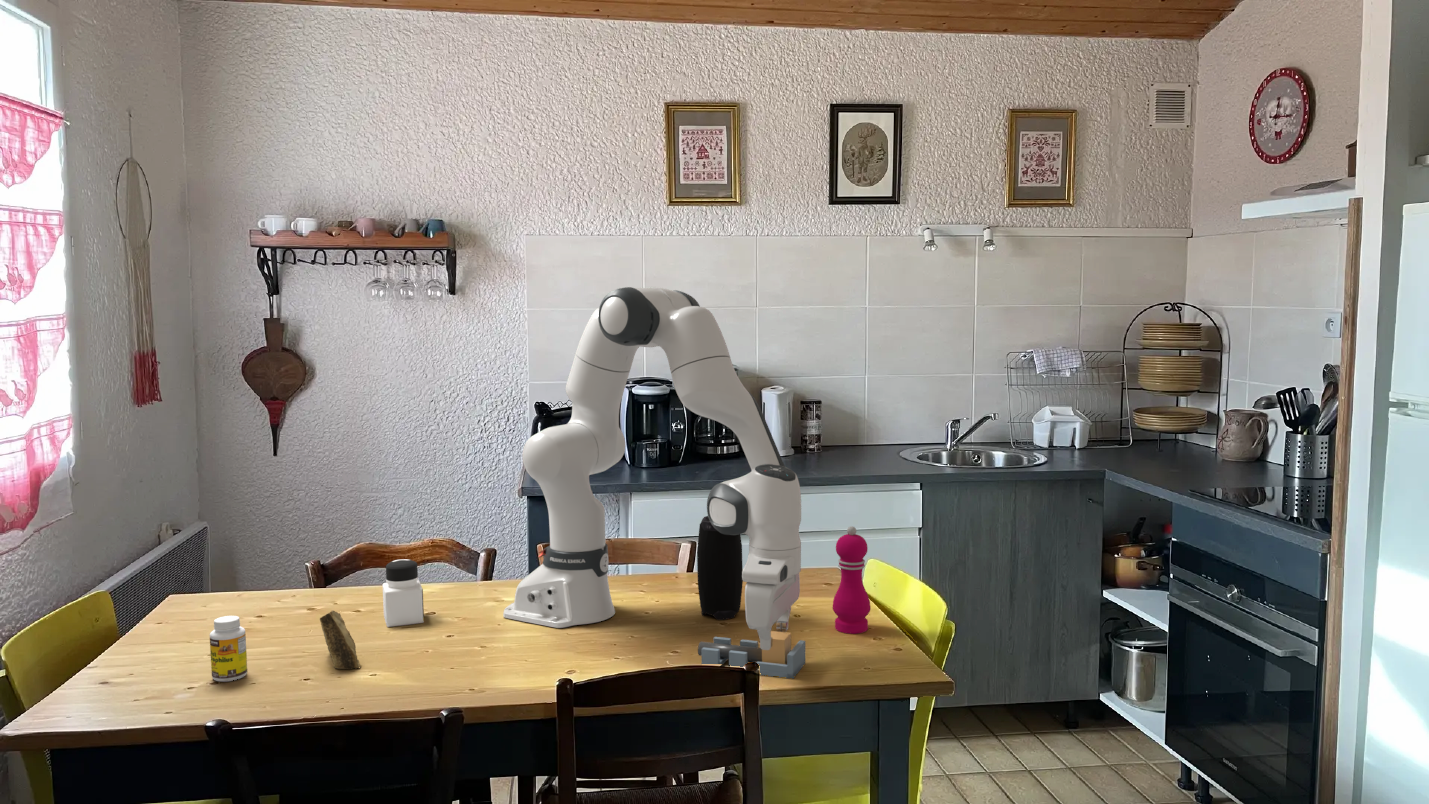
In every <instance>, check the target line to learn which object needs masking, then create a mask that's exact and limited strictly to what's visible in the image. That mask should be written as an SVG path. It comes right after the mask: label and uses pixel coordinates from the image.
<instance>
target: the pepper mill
mask: <svg viewBox="0 0 1429 804" xmlns="http://www.w3.org/2000/svg"><path fill="white" fill-rule="evenodd" d="M846 532H847V533H846V534H844V535H842V536H840V537H839V538H838V540H837V541H836V543H835V552H836V554H837V556H838V557H839V559H838V568H840V583H839V585H838V588H837V591H836V593H835V595H834V598H833V600H832V610H833V612H834V614H835V615H836V616H837V617H836V618H835V620H834V628H835V630H836V631H838V632H839V633H842V632H843V633H844V634H851V635H852V634H853V635H854V634H855V635H856V634H857V635H858V634H863V633H865V632H867V631H868V629H869V620H868V618H866V617H867V616H868V615H869V614H870V612H871V609H872V608H871V607H872V606H871V601H870V597H869V595H868V593H867V590H866V588H865V585H864V582H863V569H865V567H866V566H865V565H866V564H865V562H866V559H864V558H865V557H866V555H867V554H868V550H869V549H868V548H869V547H868V543H867V541H866V539H865V538H864V537H863V536H861V535H859V534H856V533H857V529H856V527H855V526H852V525H850V526H848V527H847V529H846Z"/></svg>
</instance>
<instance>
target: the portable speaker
mask: <svg viewBox="0 0 1429 804" xmlns="http://www.w3.org/2000/svg"><path fill="white" fill-rule="evenodd" d="M696 547H697V548H696V559H697V560H696V561H697V562H696V567H697V569H696V570H697V572H696V573H697V588H698V597H699V599H698V600H699V606H700V612H701V615H702V616H706V615H710V616H713V617H714V618H715V620H717V621H724V620H728V619H735V616H736V614H737V613H738V612H739V611H740V610H741V606H742V605H741V604H742V594H743V584H744V583H743V582H744V581H743V580H742V571H743V568H744V567H743V544H742V536H741V534H738V535H725V534H722V533H720V532H719V531H717V530H716V529H715V528H714V527H713V525H712V524H711V522H710V520H709V517H708V515H707V516H703V517H702V519H701V522H700V523H699V528H698V539H697V546H696Z"/></svg>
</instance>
